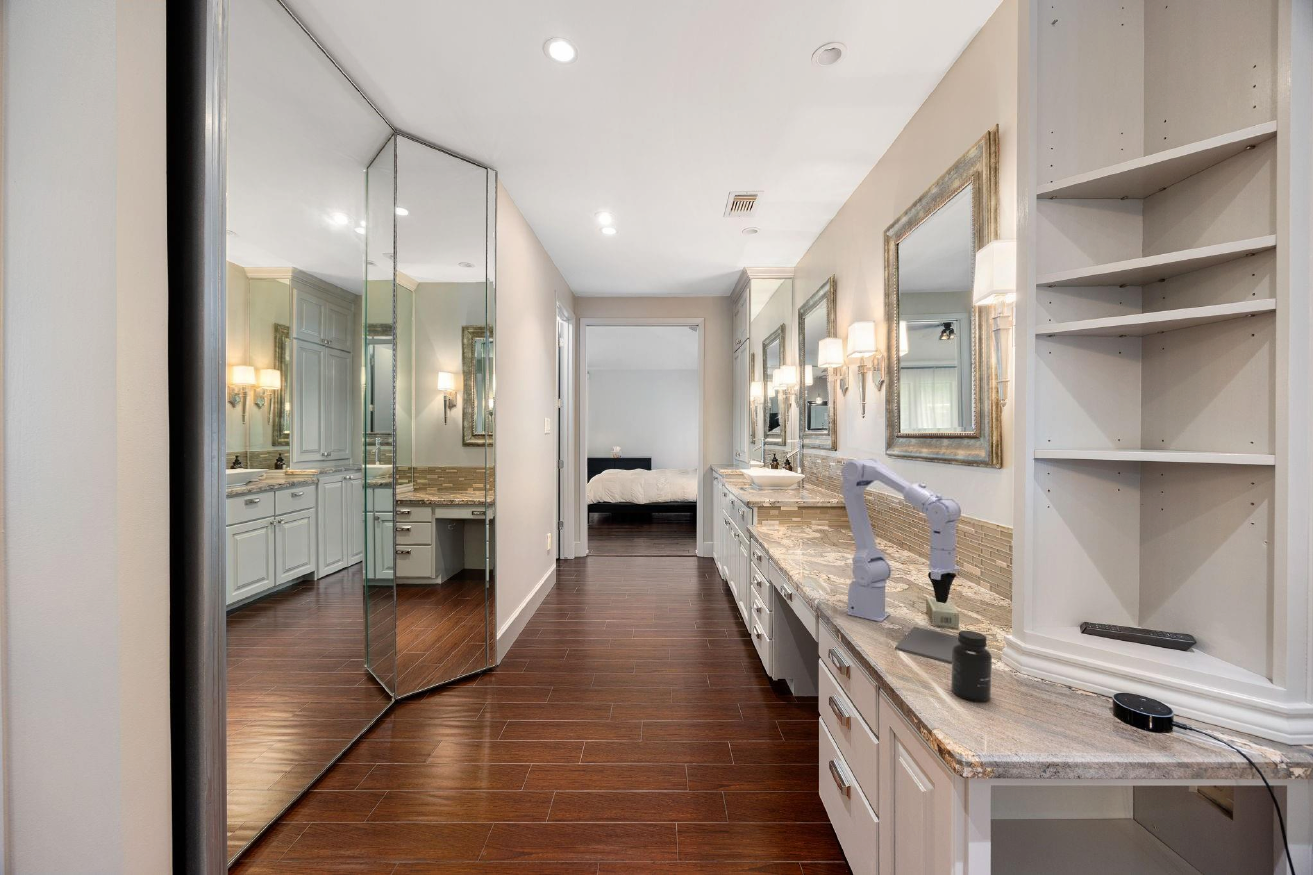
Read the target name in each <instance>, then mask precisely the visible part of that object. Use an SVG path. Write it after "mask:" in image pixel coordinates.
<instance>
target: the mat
mask: <svg viewBox="0 0 1313 875" xmlns="http://www.w3.org/2000/svg"><path fill="white" fill-rule="evenodd" d="M958 636H959V635H953V634H949V633H945V632H940V631H935V630H931V629H927V628H923V627H918V626H913V627H912V628H911V629H910V630H909V632H907V633H906V635H905V636H903V638H902V639H901V640H900V641H899V642H898V643H897V644H896V645H895V646H894V650H896V649H898V650H897V651H899V652H900V651H901V652H905V653H908V654H912V655H915V654H916V656H920V657H924V658H928V659H933V660H936V661H939V662H944V663H947V664H951V665H952V650H953V647H954V646H955V645H956V644H959V642H958Z"/></svg>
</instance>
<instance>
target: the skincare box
mask: <svg viewBox="0 0 1313 875" xmlns="http://www.w3.org/2000/svg"><path fill="white" fill-rule="evenodd" d="M925 611H926V613H927V616H928V618H929V619H930V621H931V624H932V626H933V627H934V628H935V627H936V628H944V629H955V630H959V629H960V613H959V612H958V610H957V609H956V607H955V605H954V604H953V603H952V601H951V600H950V599H949V598H948V600H947V602H946V603H940V602H937V601H936V598H935V597H928V596H927V597H926V599H925Z"/></svg>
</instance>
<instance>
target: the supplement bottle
mask: <svg viewBox="0 0 1313 875" xmlns="http://www.w3.org/2000/svg"><path fill="white" fill-rule="evenodd" d="M957 636H958V642H959V644H956V645H955V646H954V647H953V650H952V664H951V681H950V684H951V685H950V686H951V690H952V692H953V693H954V694H955V695H956V696H958V697H959V698H962V699H965V700H967V701H972V702H979V703H981V702H987V701H989V700H990V698H991V694H992V692H991V691H992V668H993V667H992V665H993V664H992V663H993V661H992V660H993V658H992V654H991V652H990V650H988V649H987V637H986V635H985V634H983V633H981V632H978V631H973V630H966V629H965V630H960V631H959V632H958V635H957Z"/></svg>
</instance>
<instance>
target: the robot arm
mask: <svg viewBox="0 0 1313 875" xmlns="http://www.w3.org/2000/svg"><path fill="white" fill-rule="evenodd" d="M840 473H841V478H842V483H841V485H842V486H841V494H842V497H843V501H844V505H845V509H846V514H847V517H848V521H849V524H850V525H849V526H850V529H851V533H852V538H853V542H854V544H855V545H854V546H855V548H856V552H855V553H854V556H853V557H852V559H851V561H852V576H853V579H854V580H851V581H850V583H849V586H848V591H847V592H848V593H847V594H848V595H847V596H848V597H847V600H848V601H847V612H846V614H847V615H850V616H853V617H859V618H863V619H867V620H870V621H871V620H872V621H876V622H881V623H882V622H883V621H884V620H885V619H887V618H888V617H889V616H890V614H891V613H890V612H888V611H886V584H887V580H889V579H890V577H891V575H892V569H891V565H890V563H889V562H888V561H887V558H886V557H885V553H884V552H883V551H882V550H881V549H879V548H878V547H877V543H876V538H875V534H874V531H873V528H872V524H871V520H870V516H869V512H868V508H867V504H866V502H865V497H864V492H865V491H866V490H867V488H868V487H869V486H870V485H871V484H872V483H874V482H875V481H878V482H881V483H882V484H884V485H886V486H887V487H889V488H892V489H893V490H894V491H896V492H898V493H899V494H901V495H902V496H903V499H904V502H906V503H908V504H909V505H911V506H912V507H914V508H915V509H917V510H918V511H919V512H922V513H923V514H925V516H926V518H927V520H928V522H929V561H928V562H929V563H928V568H929V570H930V572H928V573H927V577H928V579H929V581H930V582H931V585H932V588H933V592H934V593H933V594H934V598H936V601H937V602H940V603H946V602H947V600H948V599H949V596H950V590H951V588H952V584H953V582H954V580H955V579H956V577H957V574H956V572H960V571H962V569H961V567H960V566H956V552H957V551H956V548H957V545H956V544H957V542H956V541H957V521H958V520H959V519H960V517H961V515H962V510H961V506H960V505H959V503H957V502H956V501H955V500H954V499H953V498H943V495H942V494H940V493H935V492H934V491H932V490H930V489H928V488H927V485H926V484H924V483H919V482H915V483H910V482H908V481H907V480H906V479H904V478H902V477H901V476H900V475H898V474H897V473H895V472H894V471H892V470H891V469H889V468H888V467H887V466H885V464H884V463H882V462H879V461H878V460H876V459H874V458H868V459H849V460H847V461H846V462H845V463H844V465H843V466H842V468H841V469H840ZM954 572H955V573H954Z"/></svg>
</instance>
